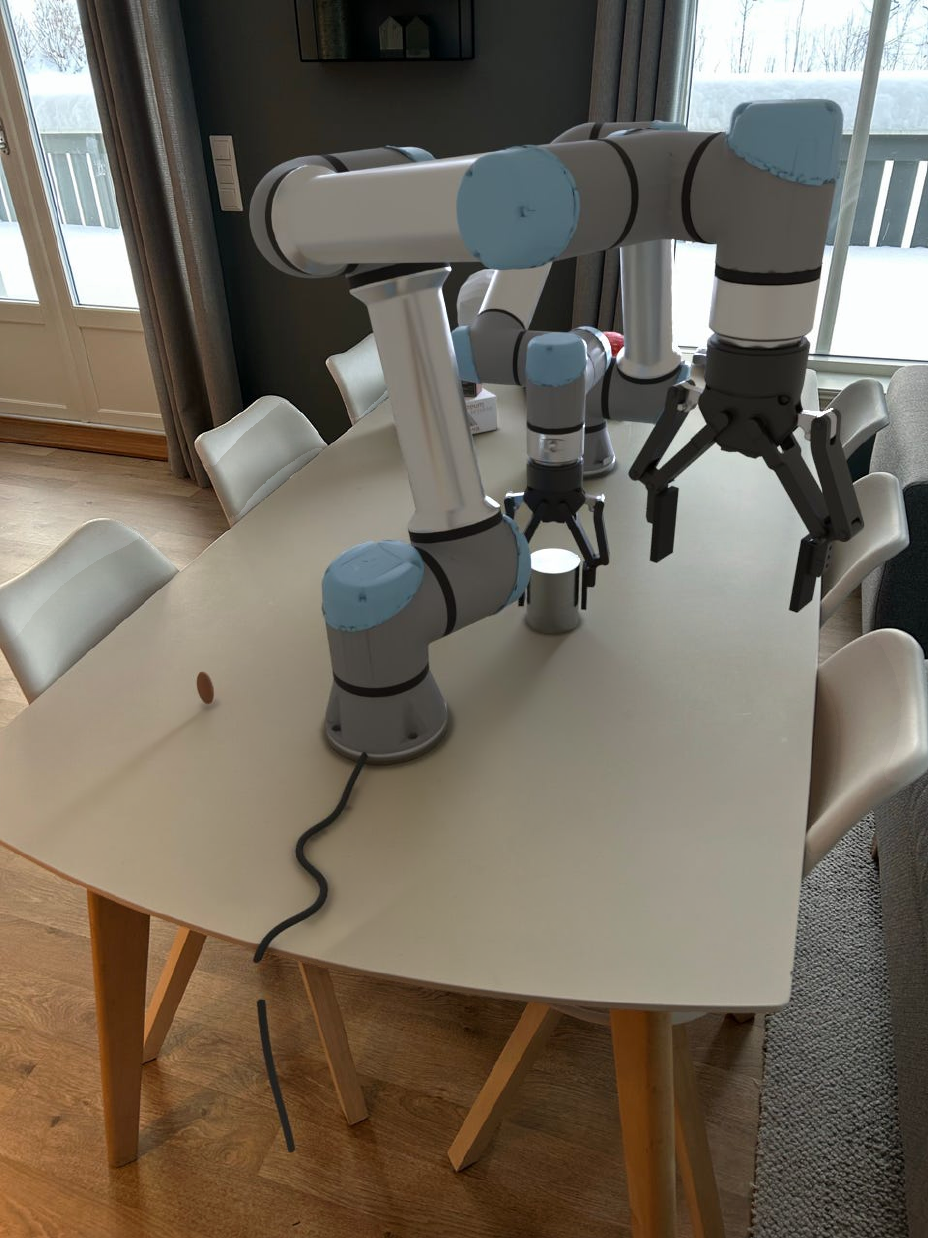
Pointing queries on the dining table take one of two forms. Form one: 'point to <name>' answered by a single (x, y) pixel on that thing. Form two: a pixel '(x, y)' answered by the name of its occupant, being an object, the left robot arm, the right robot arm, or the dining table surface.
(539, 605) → the canister
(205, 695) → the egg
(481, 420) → the white boxy piece
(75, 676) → the dining table surface
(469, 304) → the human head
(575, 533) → the right robot arm
